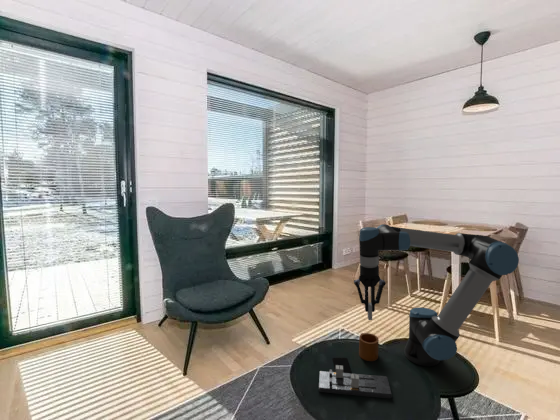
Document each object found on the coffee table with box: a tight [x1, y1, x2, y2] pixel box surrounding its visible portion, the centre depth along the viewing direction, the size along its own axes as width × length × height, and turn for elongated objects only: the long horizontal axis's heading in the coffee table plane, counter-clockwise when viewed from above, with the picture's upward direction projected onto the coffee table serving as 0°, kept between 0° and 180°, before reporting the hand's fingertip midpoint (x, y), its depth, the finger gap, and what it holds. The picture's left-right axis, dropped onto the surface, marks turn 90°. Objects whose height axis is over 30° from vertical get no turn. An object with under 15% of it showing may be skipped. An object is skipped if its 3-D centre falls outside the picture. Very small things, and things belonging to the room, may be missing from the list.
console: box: [318, 369, 393, 399], centre depth 126 cm, size 28×10×4 cm, turn 80°
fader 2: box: [351, 373, 359, 388], centre depth 123 cm, size 3×2×4 cm
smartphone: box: [331, 357, 353, 374], centre depth 137 cm, size 7×1×15 cm
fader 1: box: [336, 365, 343, 378], centre depth 129 cm, size 3×2×4 cm
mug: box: [358, 332, 380, 362], centre depth 147 cm, size 9×12×9 cm
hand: (369, 318), depth 129 cm, fingers closed
